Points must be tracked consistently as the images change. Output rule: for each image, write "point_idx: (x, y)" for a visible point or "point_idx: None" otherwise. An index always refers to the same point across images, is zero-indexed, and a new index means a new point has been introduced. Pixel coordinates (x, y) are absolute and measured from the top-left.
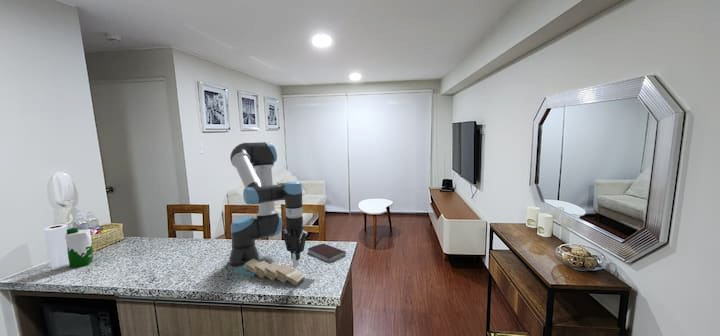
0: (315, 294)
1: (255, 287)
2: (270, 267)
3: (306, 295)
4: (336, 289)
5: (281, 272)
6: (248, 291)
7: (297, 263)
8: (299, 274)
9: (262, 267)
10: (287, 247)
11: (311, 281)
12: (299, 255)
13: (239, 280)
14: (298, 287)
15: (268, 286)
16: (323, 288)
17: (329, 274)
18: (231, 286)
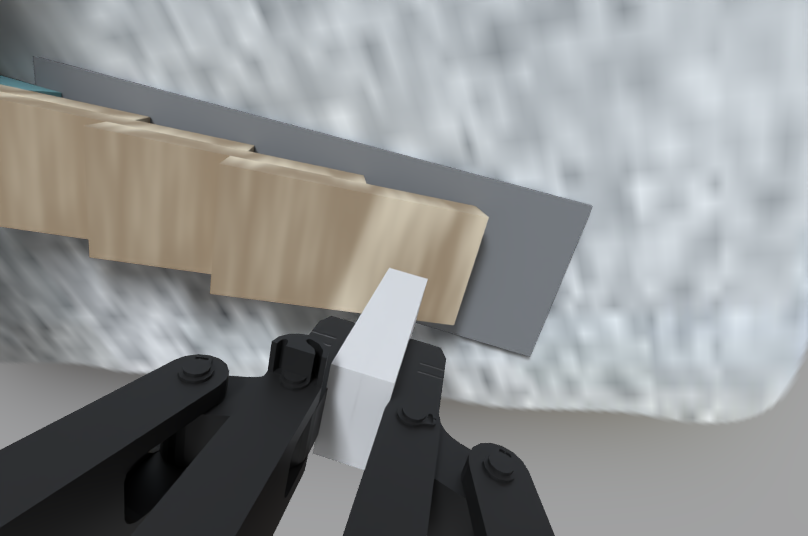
0: (618, 398)
1: (172, 319)
2: (126, 228)
3: (551, 407)
4: (803, 336)
5: (276, 299)
6: (162, 361)
7: (415, 320)
8: (437, 229)
9: (52, 206)
10: (141, 504)
11: (557, 236)
12: (437, 399)
13: (14, 237)
14: (468, 329)
15: (244, 305)
16: (678, 323)
17: (739, 54)
18: (30, 310)
